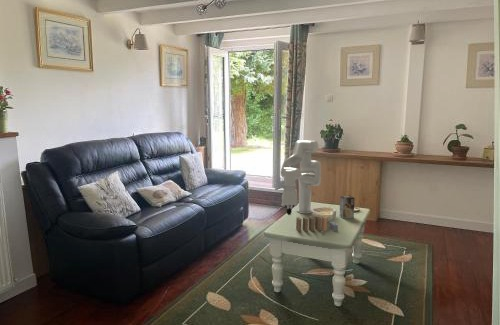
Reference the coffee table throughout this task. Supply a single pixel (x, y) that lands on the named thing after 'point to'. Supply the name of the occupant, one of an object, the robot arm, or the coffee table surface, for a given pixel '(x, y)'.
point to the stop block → (333, 226)
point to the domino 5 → (323, 223)
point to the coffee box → (347, 207)
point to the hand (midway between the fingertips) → (288, 214)
